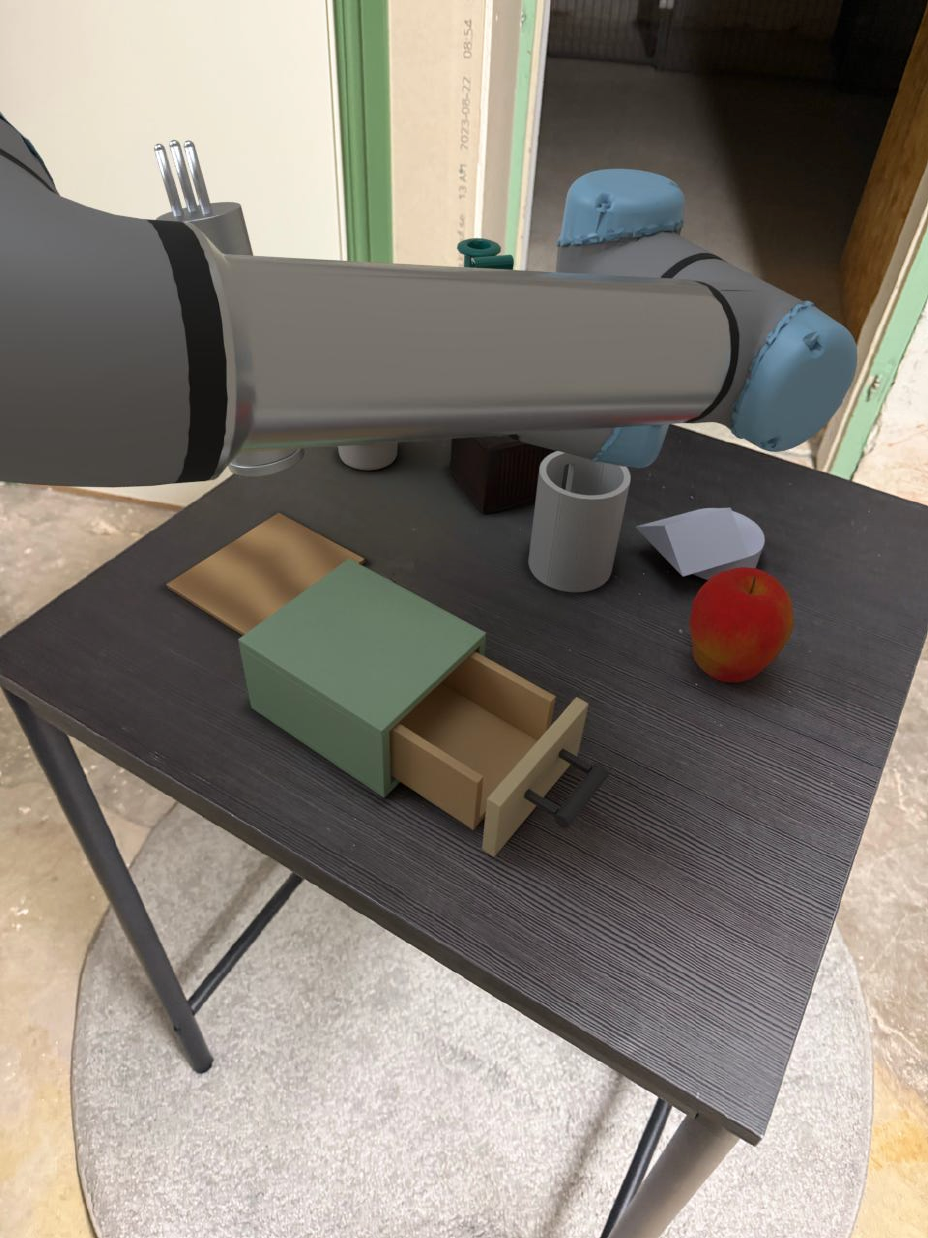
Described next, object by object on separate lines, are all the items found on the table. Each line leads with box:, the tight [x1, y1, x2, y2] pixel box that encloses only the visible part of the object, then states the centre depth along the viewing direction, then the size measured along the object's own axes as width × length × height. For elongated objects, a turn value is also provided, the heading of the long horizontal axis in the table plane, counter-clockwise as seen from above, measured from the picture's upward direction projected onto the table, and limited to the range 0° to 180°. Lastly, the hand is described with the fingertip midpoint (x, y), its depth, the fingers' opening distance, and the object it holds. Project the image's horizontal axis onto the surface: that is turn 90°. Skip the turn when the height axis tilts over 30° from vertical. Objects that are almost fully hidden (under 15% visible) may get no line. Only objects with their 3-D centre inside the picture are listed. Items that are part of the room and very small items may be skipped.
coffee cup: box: [337, 442, 399, 471], centre depth 104 cm, size 10×10×15 cm
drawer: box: [389, 651, 610, 858], centre depth 71 cm, size 19×13×7 cm
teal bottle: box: [456, 237, 515, 270], centre depth 111 cm, size 10×8×22 cm
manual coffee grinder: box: [448, 436, 556, 515], centre depth 99 cm, size 16×11×18 cm
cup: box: [527, 451, 632, 593], centre depth 91 cm, size 9×9×12 cm
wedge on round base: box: [635, 507, 766, 581], centre depth 94 cm, size 9×7×13 cm
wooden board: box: [166, 512, 366, 637], centre depth 92 cm, size 16×13×1 cm
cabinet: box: [237, 559, 487, 799], centre depth 76 cm, size 16×14×9 cm
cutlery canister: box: [153, 139, 306, 478], centre depth 72 cm, size 7×7×26 cm
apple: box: [688, 567, 795, 683], centre depth 80 cm, size 9×9×12 cm
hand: (213, 319), depth 72 cm, fingers closed on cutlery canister, 7 cm apart
